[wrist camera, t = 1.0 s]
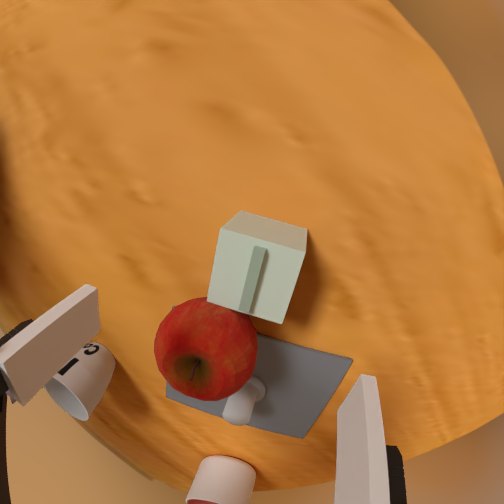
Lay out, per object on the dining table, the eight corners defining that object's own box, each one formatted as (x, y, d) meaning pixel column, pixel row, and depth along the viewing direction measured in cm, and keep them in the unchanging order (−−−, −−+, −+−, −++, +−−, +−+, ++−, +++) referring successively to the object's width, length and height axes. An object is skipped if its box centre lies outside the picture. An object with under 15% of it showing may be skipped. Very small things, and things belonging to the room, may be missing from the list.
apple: (176, 326, 31) (126, 382, 20) (205, 260, 28) (151, 302, 18) (246, 363, 30) (219, 434, 20) (284, 302, 28) (269, 367, 18)
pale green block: (227, 270, 28) (204, 304, 22) (240, 210, 26) (217, 230, 20) (288, 289, 27) (281, 328, 21) (307, 228, 25) (305, 255, 19)
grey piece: (167, 395, 37) (151, 421, 32) (173, 305, 31) (150, 333, 26) (303, 436, 35) (299, 467, 30) (352, 358, 29) (356, 394, 24)
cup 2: (192, 457, 43) (174, 499, 34) (225, 447, 39) (208, 496, 30) (233, 480, 44) (220, 520, 35) (269, 471, 40) (258, 517, 31)
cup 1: (103, 329, 35) (59, 373, 26) (134, 375, 37) (99, 423, 28) (73, 336, 37) (33, 373, 28) (101, 377, 39) (68, 417, 30)
